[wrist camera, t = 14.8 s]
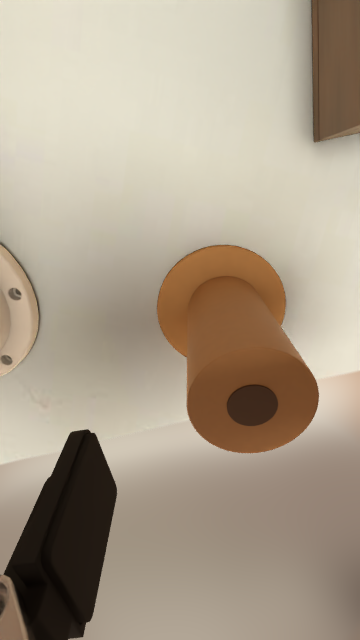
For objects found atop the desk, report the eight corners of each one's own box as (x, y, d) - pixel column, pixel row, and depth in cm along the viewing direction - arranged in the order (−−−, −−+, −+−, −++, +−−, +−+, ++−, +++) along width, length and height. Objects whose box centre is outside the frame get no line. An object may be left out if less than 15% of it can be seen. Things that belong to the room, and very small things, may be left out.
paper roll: (194, 349, 22) (198, 461, 13) (181, 283, 20) (174, 360, 11) (264, 338, 22) (320, 447, 13) (258, 269, 20) (319, 338, 11)
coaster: (171, 370, 24) (171, 373, 23) (144, 258, 20) (143, 260, 20) (287, 352, 23) (289, 356, 22) (279, 232, 19) (281, 233, 19)
